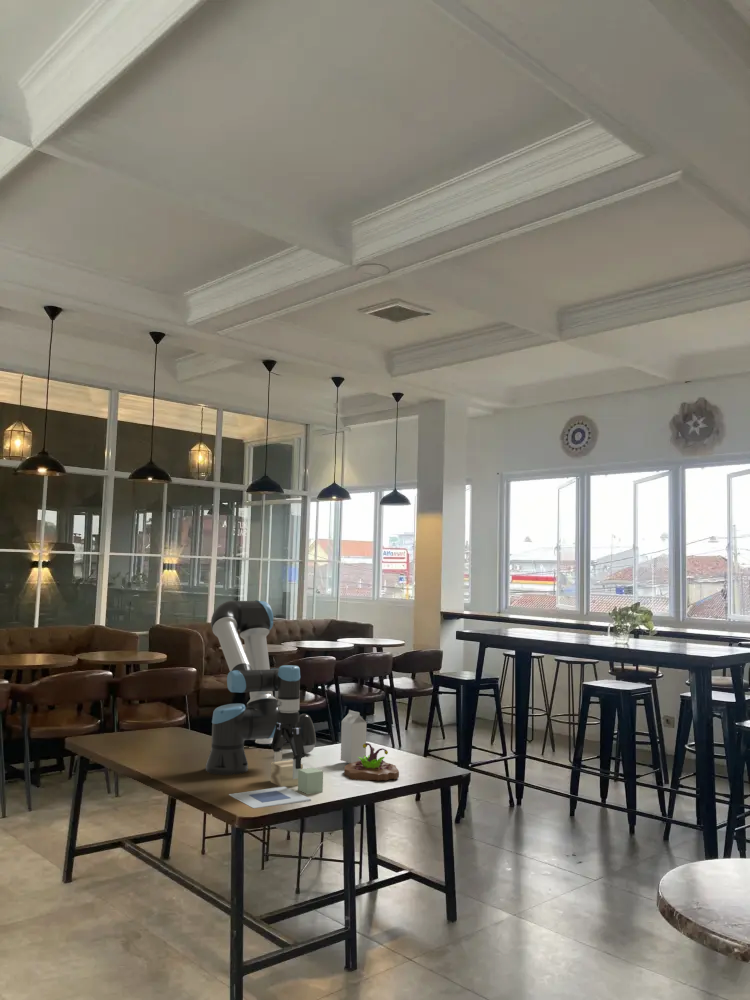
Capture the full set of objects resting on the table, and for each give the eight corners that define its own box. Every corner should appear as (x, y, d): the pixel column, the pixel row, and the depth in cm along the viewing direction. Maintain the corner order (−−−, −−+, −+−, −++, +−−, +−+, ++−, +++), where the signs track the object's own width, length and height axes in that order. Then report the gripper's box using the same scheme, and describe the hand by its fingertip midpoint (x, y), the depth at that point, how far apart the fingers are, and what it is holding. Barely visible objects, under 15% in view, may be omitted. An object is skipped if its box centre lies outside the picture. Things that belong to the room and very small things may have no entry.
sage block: (297, 791, 269) (298, 769, 269) (313, 788, 272) (314, 767, 273) (306, 795, 264) (307, 773, 264) (322, 793, 267) (323, 771, 268)
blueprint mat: (228, 797, 259) (228, 793, 259) (284, 789, 270) (284, 786, 270) (253, 811, 244) (253, 807, 244) (310, 802, 255) (311, 798, 255)
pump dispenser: (289, 749, 333) (290, 711, 335) (314, 749, 334) (315, 711, 336) (290, 754, 323) (291, 716, 324) (316, 754, 324) (317, 715, 326)
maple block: (270, 783, 278) (271, 762, 279) (290, 780, 283) (291, 759, 284) (281, 788, 272) (282, 767, 273) (302, 785, 276) (302, 764, 277)
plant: (342, 768, 304) (342, 737, 305) (393, 767, 306) (394, 737, 307) (346, 781, 284) (346, 748, 285) (401, 780, 286) (401, 748, 287)
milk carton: (355, 758, 319) (356, 709, 321) (365, 761, 313) (366, 711, 315) (340, 760, 315) (341, 710, 317) (350, 764, 309) (351, 713, 311)
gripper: (262, 707, 288) (260, 769, 285) (296, 716, 267) (294, 783, 265) (281, 706, 292) (279, 766, 290) (315, 715, 272) (314, 780, 269)
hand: (287, 774), depth 277 cm, fingers open, 13 cm apart
